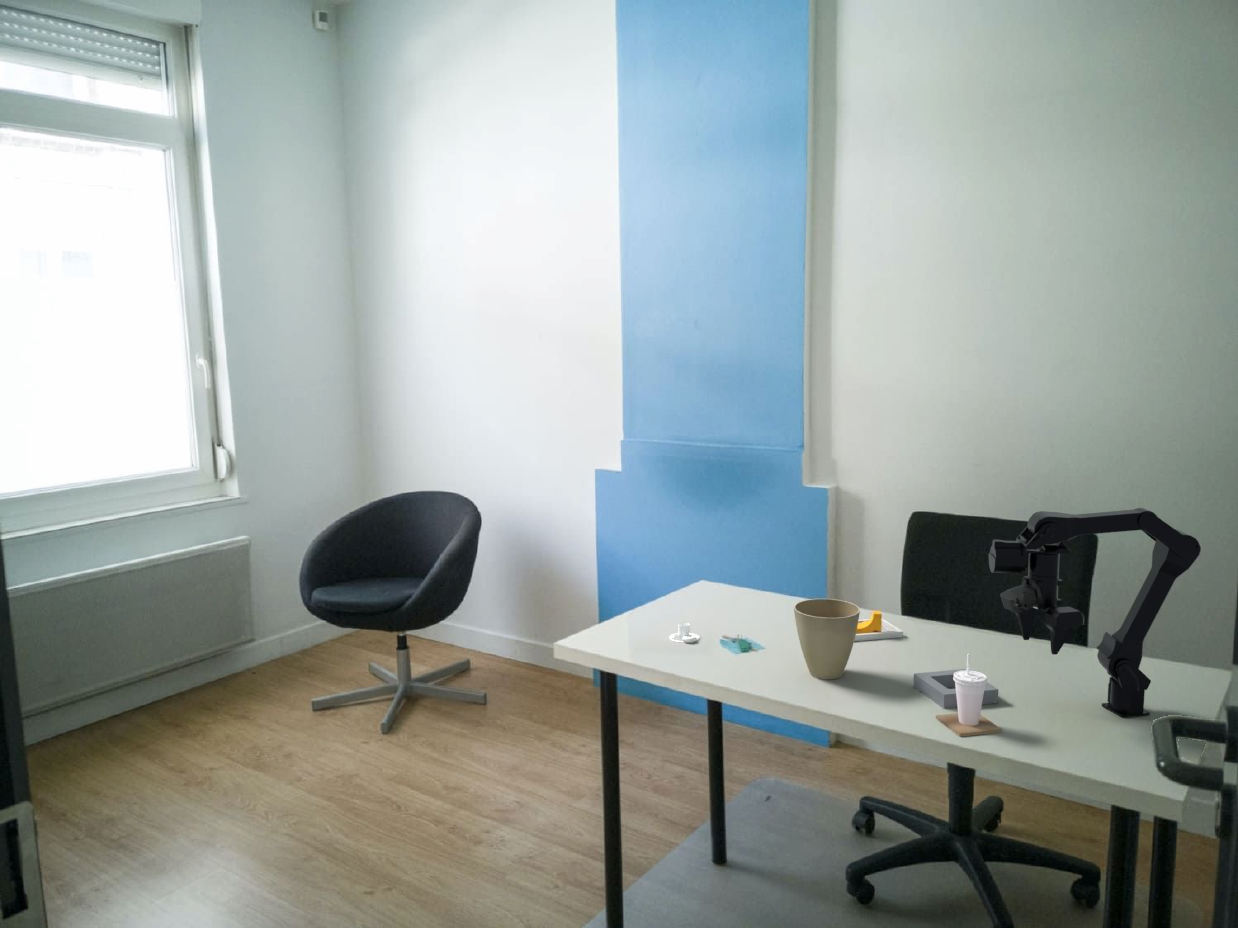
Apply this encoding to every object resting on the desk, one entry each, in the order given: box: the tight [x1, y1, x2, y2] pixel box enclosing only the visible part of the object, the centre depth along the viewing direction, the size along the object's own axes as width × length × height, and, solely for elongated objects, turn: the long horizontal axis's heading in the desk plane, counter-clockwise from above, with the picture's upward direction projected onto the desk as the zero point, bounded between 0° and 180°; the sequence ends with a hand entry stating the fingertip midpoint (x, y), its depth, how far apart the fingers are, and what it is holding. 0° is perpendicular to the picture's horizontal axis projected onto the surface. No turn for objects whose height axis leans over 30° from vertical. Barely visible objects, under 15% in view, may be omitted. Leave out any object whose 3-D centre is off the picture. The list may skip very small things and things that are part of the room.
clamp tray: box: [854, 618, 904, 642], centre depth 242 cm, size 12×18×2 cm, turn 101°
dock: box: [912, 668, 999, 709], centre depth 199 cm, size 13×13×3 cm
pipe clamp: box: [856, 610, 883, 634], centre depth 240 cm, size 12×4×6 cm, turn 83°
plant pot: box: [793, 598, 861, 680], centre depth 211 cm, size 15×15×16 cm
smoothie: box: [953, 653, 988, 726], centre depth 182 cm, size 6×6×14 cm
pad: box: [935, 712, 1003, 737], centre depth 183 cm, size 9×9×1 cm
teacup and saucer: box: [669, 622, 700, 644], centre depth 240 cm, size 9×8×4 cm
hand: (1039, 646), depth 190 cm, fingers open, 9 cm apart
